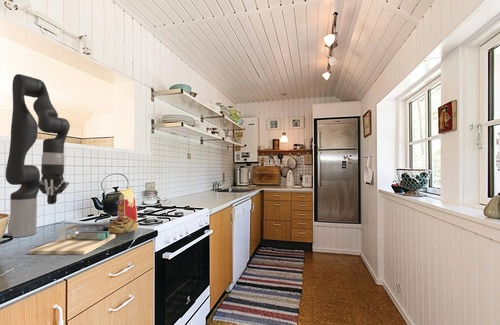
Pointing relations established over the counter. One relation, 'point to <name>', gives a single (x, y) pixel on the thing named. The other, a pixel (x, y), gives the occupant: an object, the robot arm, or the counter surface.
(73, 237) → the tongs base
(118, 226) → the pastry
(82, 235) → the tong arm
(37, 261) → the counter surface
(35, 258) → the counter surface
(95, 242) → the board
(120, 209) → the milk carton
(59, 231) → the grey l-shaped block
